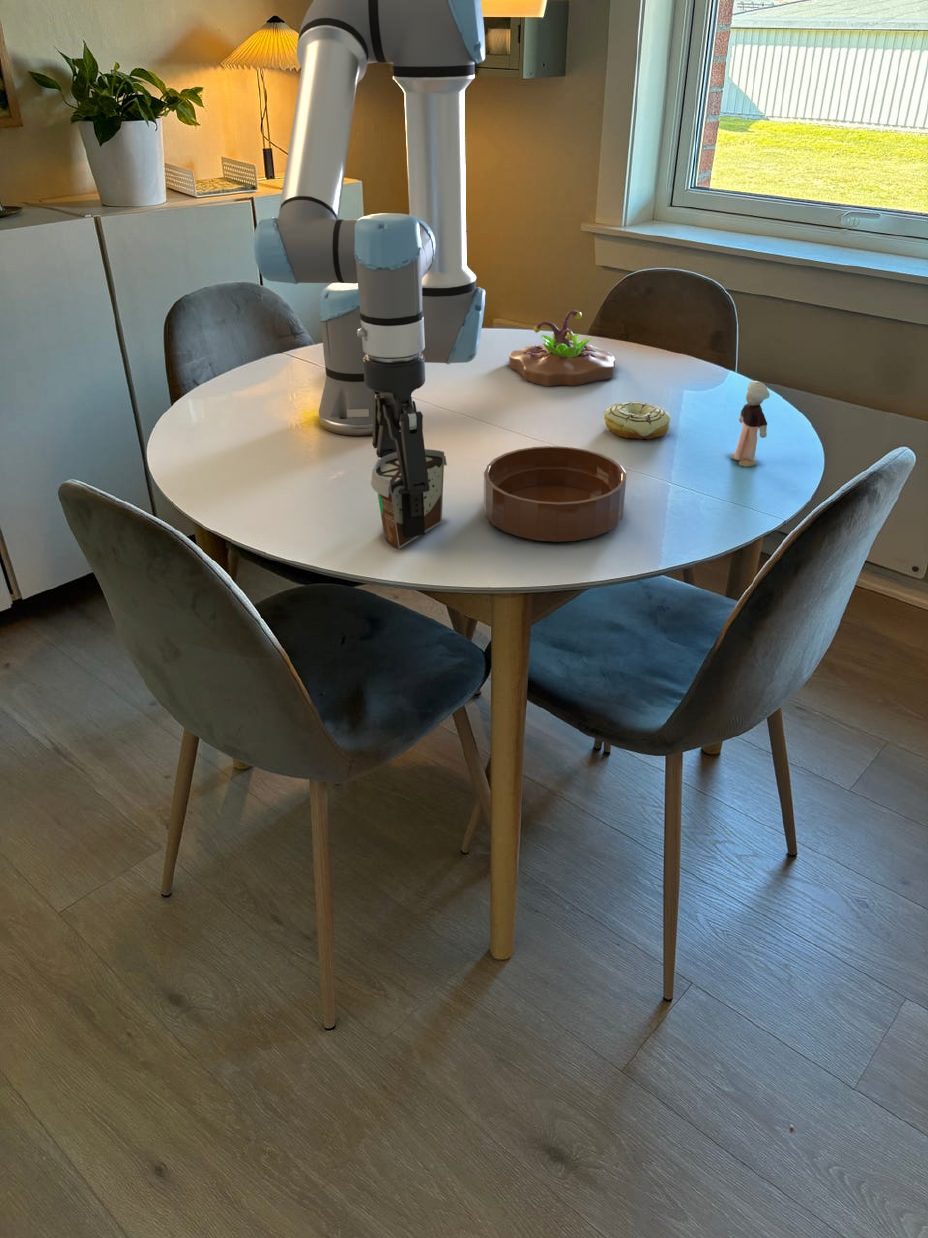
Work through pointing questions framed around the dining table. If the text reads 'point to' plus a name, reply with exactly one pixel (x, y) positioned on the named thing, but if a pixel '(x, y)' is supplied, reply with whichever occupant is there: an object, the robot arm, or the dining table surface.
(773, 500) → the dining table surface
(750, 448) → the grandmother figurine
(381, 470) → the food container
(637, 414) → the decorated donut
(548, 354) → the plant
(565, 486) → the bowl
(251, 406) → the dining table surface
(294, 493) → the dining table surface
